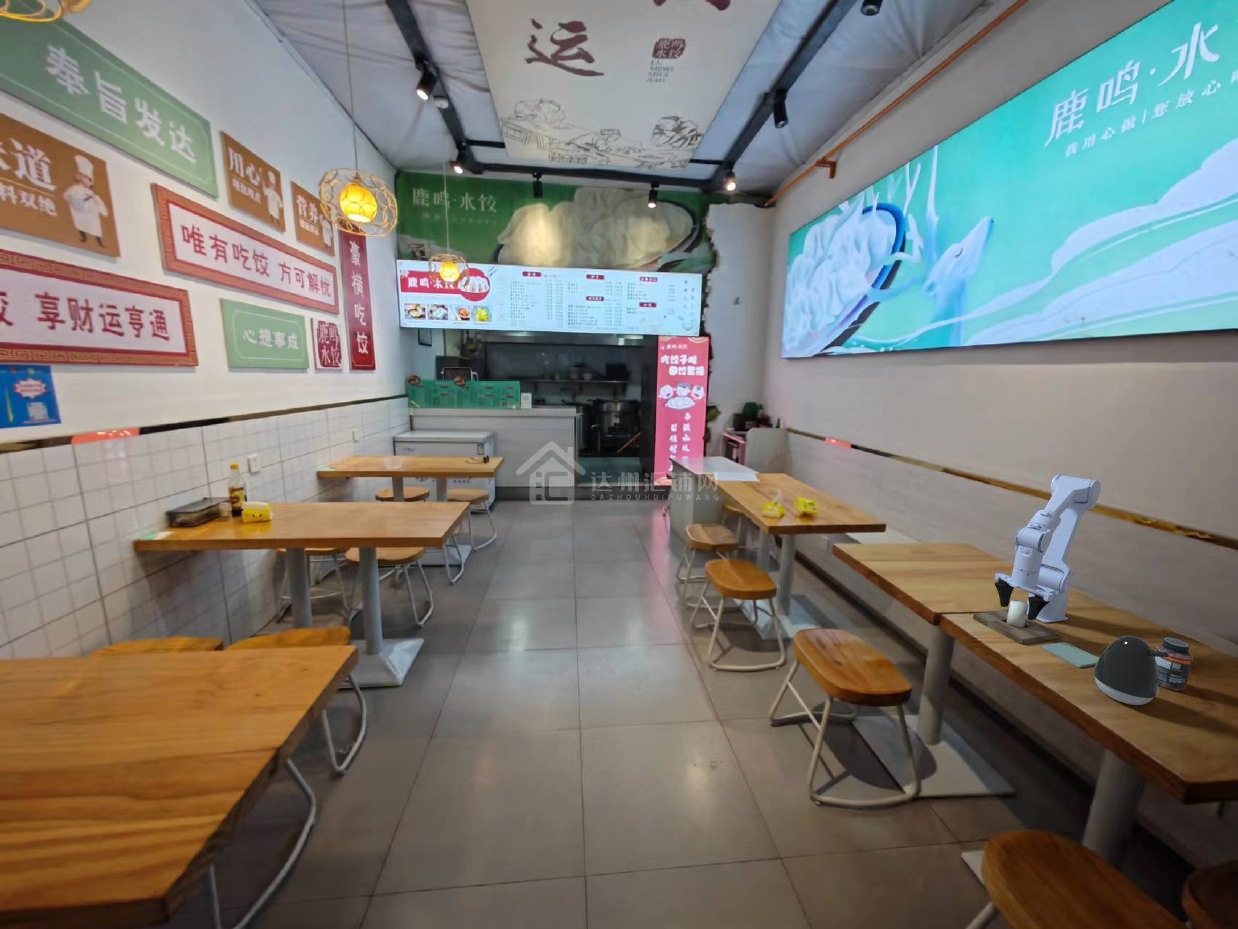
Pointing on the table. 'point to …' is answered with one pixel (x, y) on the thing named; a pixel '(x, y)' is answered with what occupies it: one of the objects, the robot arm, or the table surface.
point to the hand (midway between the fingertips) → (1017, 612)
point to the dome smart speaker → (1129, 671)
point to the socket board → (1023, 635)
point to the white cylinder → (1017, 614)
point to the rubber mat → (1071, 654)
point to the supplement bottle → (1174, 664)
